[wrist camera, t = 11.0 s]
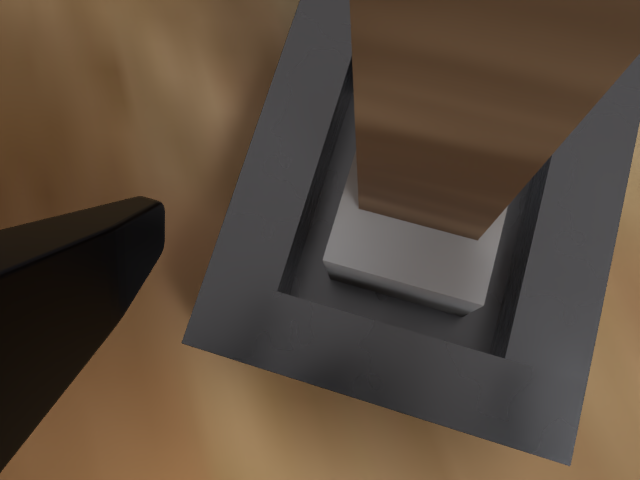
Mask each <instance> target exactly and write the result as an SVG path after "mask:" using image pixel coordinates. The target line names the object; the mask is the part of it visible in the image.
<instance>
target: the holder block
mask: <svg viewBox="0 0 640 480" xmlns="http://www.w3.org/2000/svg"><path fill="white" fill-rule="evenodd" d="M639 122H640V54H639V55H638V56H637V57H636V58H635V60H634V61H633V62H632V63H631V64H630V65H629V66H628V68H627V69H626V70H625V71H624V72H623V73H622V75H621V76H620V77H619V78H618V79H617V80H616V81H615V83H614V84H613V85H612V86H611V87H610V88H609V90H608V91H607V92H606V93H605V94H604V95H603V97H602V98H601V99H600V100H599V101H598V102H597V103H596V105H595V106H594V107H593V108H592V109H591V110H590V112H589V113H588V114H587V115H586V116H585V117H584V118H583V120H582V121H581V122H580V123H579V124H578V125H577V127H576V128H575V129H574V130H573V131H572V132H571V133H570V135H569V136H568V137H567V138H566V139H565V140H564V142H563V143H562V144H561V145H560V146H559V147H558V148H557V150H556V151H555V152H554V153H553V154H552V155H551V157H550V158H549V159H548V160H547V161H546V162H545V163H544V165H543V166H542V167H541V168H540V169H539V170H538V172H537V173H536V174H535V175H534V176H533V177H532V178H531V180H530V181H529V182H528V183H527V184H526V185H525V187H524V188H523V189H522V190H521V191H520V192H519V194H518V195H517V196H516V197H515V198H514V199H513V200H512V202H511V203H510V204H509V205H508V208H507V212H506V216H505V220H504V224H503V228H502V233H501V237H500V241H499V245H498V249H497V253H496V257H495V261H494V266H493V270H492V274H491V278H490V282H489V286H488V290H487V294H486V299H485V303H484V306H482V307H480V308H479V309H477V310H475V311H473V312H471V313H469V314H468V315H466V316H464V317H461V316H457V315H454V314H450V313H447V312H443V311H440V310H436V309H433V308H429V307H426V306H422V305H419V304H415V303H412V302H408V301H405V300H401V299H398V298H394V297H391V296H387V295H384V294H381V293H377V292H374V291H370V290H367V289H363V288H360V287H356V286H353V285H349V284H346V283H342V282H339V281H335V280H332V279H330V278H329V275H328V273H327V270H326V268H325V265H324V263H323V257H324V254H325V250H326V247H327V244H328V240H329V237H330V234H331V231H332V227H333V224H334V221H335V217H336V214H337V211H338V208H339V204H340V201H341V198H342V194H343V191H344V188H345V185H346V181H347V178H348V175H349V171H350V168H351V165H352V162H353V158H354V155H355V152H356V135H355V112H354V90H353V67H352V45H351V22H350V0H300V2H299V5H298V7H297V10H296V13H295V16H294V19H293V22H292V25H291V28H290V31H289V33H288V36H287V39H286V42H285V45H284V48H283V51H282V54H281V57H280V60H279V62H278V65H277V68H276V71H275V74H274V77H273V80H272V83H271V86H270V88H269V91H268V94H267V97H266V100H265V103H264V106H263V109H262V112H261V115H260V117H259V120H258V123H257V126H256V129H255V132H254V135H253V138H252V141H251V143H250V146H249V149H248V152H247V155H246V158H245V161H244V164H243V167H242V170H241V172H240V175H239V178H238V181H237V184H236V187H235V190H234V193H233V196H232V198H231V201H230V204H229V207H228V210H227V213H226V216H225V219H224V222H223V225H222V227H221V230H220V233H219V236H218V239H217V242H216V245H215V248H214V251H213V253H212V256H211V259H210V262H209V265H208V268H207V271H206V274H205V277H204V280H203V282H202V285H201V288H200V291H199V294H198V297H197V300H196V303H195V306H194V308H193V311H192V314H191V317H190V320H189V323H188V326H187V329H186V332H185V335H184V337H183V340H182V344H186V345H189V346H192V347H195V348H198V349H201V350H205V351H208V352H211V353H214V354H217V355H220V356H223V357H227V358H230V359H233V360H236V361H239V362H242V363H246V364H249V365H252V366H255V367H258V368H261V369H265V370H268V371H271V372H274V373H277V374H280V375H284V376H287V377H290V378H293V379H296V380H299V381H303V382H306V383H309V384H312V385H315V386H318V387H321V388H325V389H328V390H331V391H334V392H337V393H340V394H344V395H347V396H350V397H353V398H356V399H359V400H363V401H366V402H369V403H372V404H375V405H378V406H382V407H385V408H388V409H391V410H394V411H397V412H400V413H404V414H407V415H410V416H413V417H416V418H419V419H423V420H426V421H429V422H432V423H435V424H438V425H442V426H445V427H448V428H451V429H454V430H457V431H461V432H464V433H467V434H470V435H473V436H476V437H479V438H483V439H486V440H489V441H492V442H495V443H498V444H502V445H505V446H508V447H511V448H514V449H517V450H521V451H524V452H527V453H530V454H533V455H536V456H540V457H543V458H546V459H549V460H552V461H555V462H559V463H562V464H565V465H568V466H570V465H571V460H572V455H573V450H574V445H575V440H576V435H577V430H578V425H579V420H580V415H581V410H582V405H583V400H584V395H585V390H586V386H587V381H588V376H589V371H590V366H591V361H592V356H593V351H594V346H595V341H596V336H597V331H598V326H599V321H600V316H601V311H602V306H603V301H604V296H605V291H606V286H607V281H608V276H609V271H610V266H611V261H612V256H613V252H614V247H615V242H616V237H617V232H618V227H619V222H620V217H621V212H622V207H623V202H624V197H625V192H626V187H627V182H628V177H629V172H630V167H631V162H632V157H633V152H634V147H635V142H636V137H637V132H638V127H639Z"/></svg>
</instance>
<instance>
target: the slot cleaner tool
mask: <svg viewBox="0 0 640 480" xmlns="http://www.w3.org/2000/svg"><path fill="white" fill-rule="evenodd" d="M350 22H351V45H352V67H353V90H354V112H355V135H356V152H355V155H354V158H353V162H352V165H351V168H350V171H349V175H348V178H347V181H346V185H345V188H344V191H343V194H342V198H341V201H340V204H339V208H338V211H337V214H336V217H335V221H334V224H333V227H332V231H331V234H330V237H329V240H328V244H327V247H326V250H325V254H324V257H323V263H324V265H325V268H326V270H327V273H328V275H329V278H330V279H332V280H335V281H339V282H342V283H346V284H349V285H353V286H356V287H360V288H363V289H367V290H370V291H374V292H377V293H381V294H384V295H387V296H391V297H394V298H398V299H401V300H405V301H408V302H412V303H415V304H419V305H422V306H426V307H429V308H433V309H436V310H440V311H443V312H447V313H450V314H454V315H457V316H461V317H464V316H466V315H468V314H469V313H471V312H473V311H475V310H477V309H479V308H480V307H482V306H484V303H485V299H486V294H487V290H488V286H489V282H490V278H491V274H492V270H493V266H494V261H495V257H496V253H497V249H498V245H499V241H500V237H501V233H502V228H503V224H504V220H505V216H506V212H507V208H508V205H509V204H510V203H511V202H512V200H513V199H514V198H515V197H516V196H517V195H518V194H519V192H520V191H521V190H522V189H523V188H524V187H525V185H526V184H527V183H528V182H529V181H530V180H531V178H532V177H533V176H534V175H535V174H536V173H537V172H538V170H539V169H540V168H541V167H542V166H543V165H544V163H545V162H546V161H547V160H548V159H549V158H550V157H551V155H552V154H553V153H554V152H555V151H556V150H557V148H558V147H559V146H560V145H561V144H562V143H563V142H564V140H565V139H566V138H567V137H568V136H569V135H570V133H571V132H572V131H573V130H574V129H575V128H576V127H577V125H578V124H579V123H580V122H581V121H582V120H583V118H584V117H585V116H586V115H587V114H588V113H589V112H590V110H591V109H592V108H593V107H594V106H595V105H596V103H597V102H598V101H599V100H600V99H601V98H602V97H603V95H604V94H605V93H606V92H607V91H608V90H609V88H610V87H611V86H612V85H613V84H614V83H615V81H616V80H617V79H618V78H619V77H620V76H621V75H622V73H623V72H624V71H625V70H626V69H627V68H628V66H629V65H630V64H631V63H632V62H633V61H634V60H635V58H636V57H637V56H638V55H639V54H640V0H350Z"/></svg>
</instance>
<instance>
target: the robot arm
mask: <svg viewBox="0 0 640 480" xmlns="http://www.w3.org/2000/svg"><path fill="white" fill-rule="evenodd" d="M164 242H165V210H164V205H163V204H162V203H161V202H160V201H157V200H153V199H150V198H146V197H143V196H138V197H134V198H130V199H125V200H121V201H117V202H113V203H109V204H105V205H101V206H97V207H93V208H88V209H84V210H80V211H76V212H72V213H68V214H64V215H60V216H56V217H51V218H47V219H43V220H39V221H35V222H31V223H27V224H23V225H19V226H15V227H10V228H6V229H2V230H0V473H1V471H2V470H3V469H4V467H5V466H6V465H7V464H8V462H9V461H10V460H11V459H12V457H13V456H14V455H15V454H16V452H17V451H18V450H19V448H20V447H21V446H22V445H23V443H24V442H25V441H26V440H27V438H28V437H29V436H30V435H31V433H32V432H33V431H34V429H35V428H36V427H37V426H38V424H39V423H40V422H41V421H42V419H43V418H44V417H45V416H46V414H47V413H48V412H49V410H50V409H51V408H52V407H53V405H54V404H55V403H56V402H57V400H58V399H59V398H60V397H61V395H62V394H63V393H64V391H65V390H66V389H67V388H68V386H69V385H70V384H71V383H72V381H73V380H74V379H75V378H76V376H77V375H78V374H79V372H80V371H81V370H82V369H83V367H84V366H85V365H86V364H87V362H88V361H89V360H90V359H91V357H92V356H93V355H94V353H95V352H96V351H97V350H98V348H99V347H100V346H101V345H102V343H103V342H104V341H105V340H106V338H107V337H108V336H109V334H110V333H111V332H112V331H113V329H114V328H115V327H116V325H117V324H118V323H119V321H120V320H121V318H122V317H123V315H124V314H125V312H126V311H127V309H128V308H129V306H130V304H131V303H132V301H133V299H134V298H135V296H136V295H137V293H138V291H139V290H140V288H141V286H142V285H143V283H144V282H145V280H146V278H147V277H148V275H149V273H150V272H151V270H152V269H153V267H154V265H155V264H156V262H157V260H158V259H159V257H160V255H161V253H162V251H163V248H164Z"/></svg>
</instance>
